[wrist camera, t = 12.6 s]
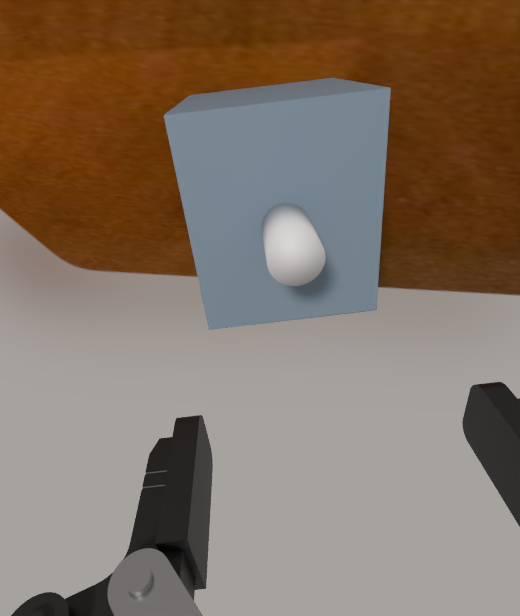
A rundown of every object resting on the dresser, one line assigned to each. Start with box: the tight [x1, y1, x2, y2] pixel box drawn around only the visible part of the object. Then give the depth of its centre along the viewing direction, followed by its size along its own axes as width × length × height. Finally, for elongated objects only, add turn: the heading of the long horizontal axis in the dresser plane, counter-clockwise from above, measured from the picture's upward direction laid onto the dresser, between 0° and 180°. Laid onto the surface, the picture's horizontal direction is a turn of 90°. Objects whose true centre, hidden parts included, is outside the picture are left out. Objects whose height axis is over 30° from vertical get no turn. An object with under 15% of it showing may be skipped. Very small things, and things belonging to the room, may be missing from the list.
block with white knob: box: [164, 78, 391, 330], centre depth 30 cm, size 13×15×20 cm
